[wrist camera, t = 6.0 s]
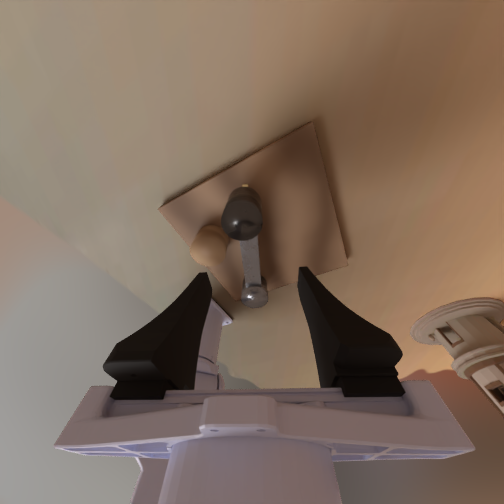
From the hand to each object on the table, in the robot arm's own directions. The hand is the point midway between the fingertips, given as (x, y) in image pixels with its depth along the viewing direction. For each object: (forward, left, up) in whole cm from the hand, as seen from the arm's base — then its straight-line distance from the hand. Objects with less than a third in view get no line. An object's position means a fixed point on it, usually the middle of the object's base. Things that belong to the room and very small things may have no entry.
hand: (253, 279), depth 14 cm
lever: (-2, -2, -9) cm, 9 cm away
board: (0, -2, -10) cm, 11 cm away
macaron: (-5, +1, -9) cm, 11 cm away
